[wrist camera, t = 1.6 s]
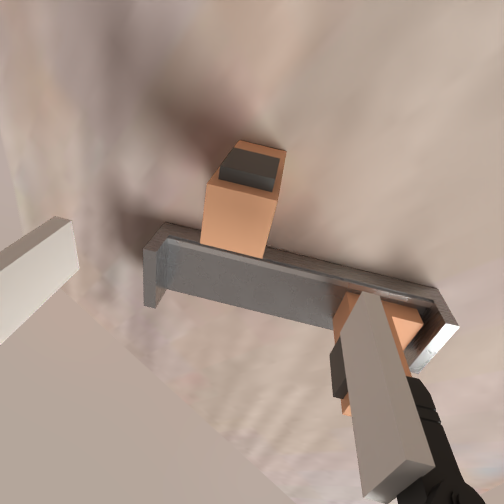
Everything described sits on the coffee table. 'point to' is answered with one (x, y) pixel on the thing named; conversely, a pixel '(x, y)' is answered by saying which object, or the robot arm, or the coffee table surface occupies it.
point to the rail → (285, 286)
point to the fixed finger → (403, 330)
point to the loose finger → (243, 199)
